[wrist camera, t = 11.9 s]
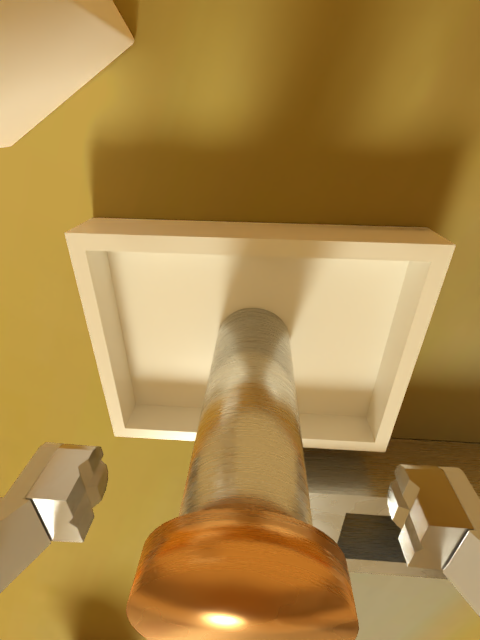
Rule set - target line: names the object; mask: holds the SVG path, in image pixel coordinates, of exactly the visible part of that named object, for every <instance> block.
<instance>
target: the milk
mask: <svg viewBox="0 0 480 640" xmlns="http://www.w3.org/2000/svg"><path fill="white" fill-rule="evenodd" d="M133 43H134V38H133V36H132V34H131V32H130V30H129V29H128V27H127V25H126V23H125V22H124V20H123V18H122V16H121V15H120V13H119V11H118V9H117V7H116V6H115V4H114V2H113V0H0V148H1V147H10V146H12V145H13V144H14V143H16V142H17V141H18V140H19V139H20V138H22V137H23V136H24V135H25V134H26V133H28V132H29V131H30V130H31V129H32V128H34V127H35V126H36V125H37V124H38V123H39V122H41V121H42V120H43V119H44V118H45V117H47V116H48V115H49V114H50V113H51V112H53V111H54V110H55V109H56V108H57V107H59V106H60V105H61V104H62V103H63V102H64V101H66V100H67V99H68V98H69V97H70V96H72V95H73V94H74V93H75V92H76V91H78V90H79V89H80V88H81V87H82V86H84V85H85V84H86V83H87V82H88V81H89V80H91V79H92V78H93V77H94V76H95V75H97V74H98V73H99V72H100V71H101V70H103V69H104V68H105V67H106V66H107V65H109V64H110V63H111V62H112V61H113V60H114V59H116V58H117V57H118V56H119V55H120V54H122V53H123V52H124V51H125V50H126V49H128V48H129V47H130V46H131V45H132V44H133Z"/></svg>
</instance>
